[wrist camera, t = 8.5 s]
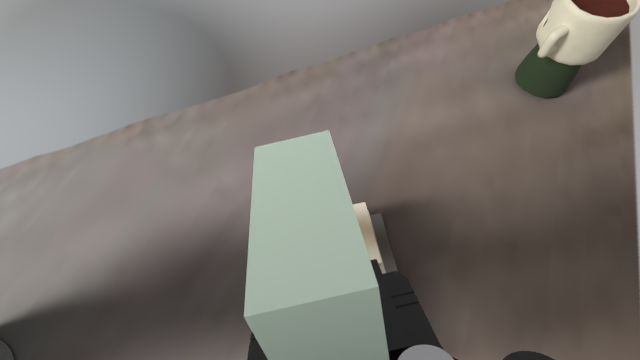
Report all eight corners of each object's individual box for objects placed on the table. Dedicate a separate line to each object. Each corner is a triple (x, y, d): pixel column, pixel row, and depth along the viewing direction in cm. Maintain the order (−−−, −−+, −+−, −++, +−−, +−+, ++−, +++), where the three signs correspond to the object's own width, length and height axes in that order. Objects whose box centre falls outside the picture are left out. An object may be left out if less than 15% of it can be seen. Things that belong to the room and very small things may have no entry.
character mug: (547, 44, 47) (610, -51, 35) (591, 77, 44) (677, -15, 32) (487, 85, 45) (532, -1, 34) (529, 121, 43) (594, 42, 31)
